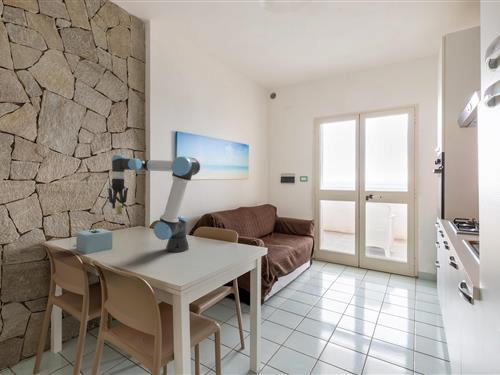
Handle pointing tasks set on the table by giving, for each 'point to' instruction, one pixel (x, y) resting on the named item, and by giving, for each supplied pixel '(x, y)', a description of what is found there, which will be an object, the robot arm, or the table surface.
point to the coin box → (93, 240)
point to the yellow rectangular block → (119, 209)
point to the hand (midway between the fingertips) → (117, 212)
